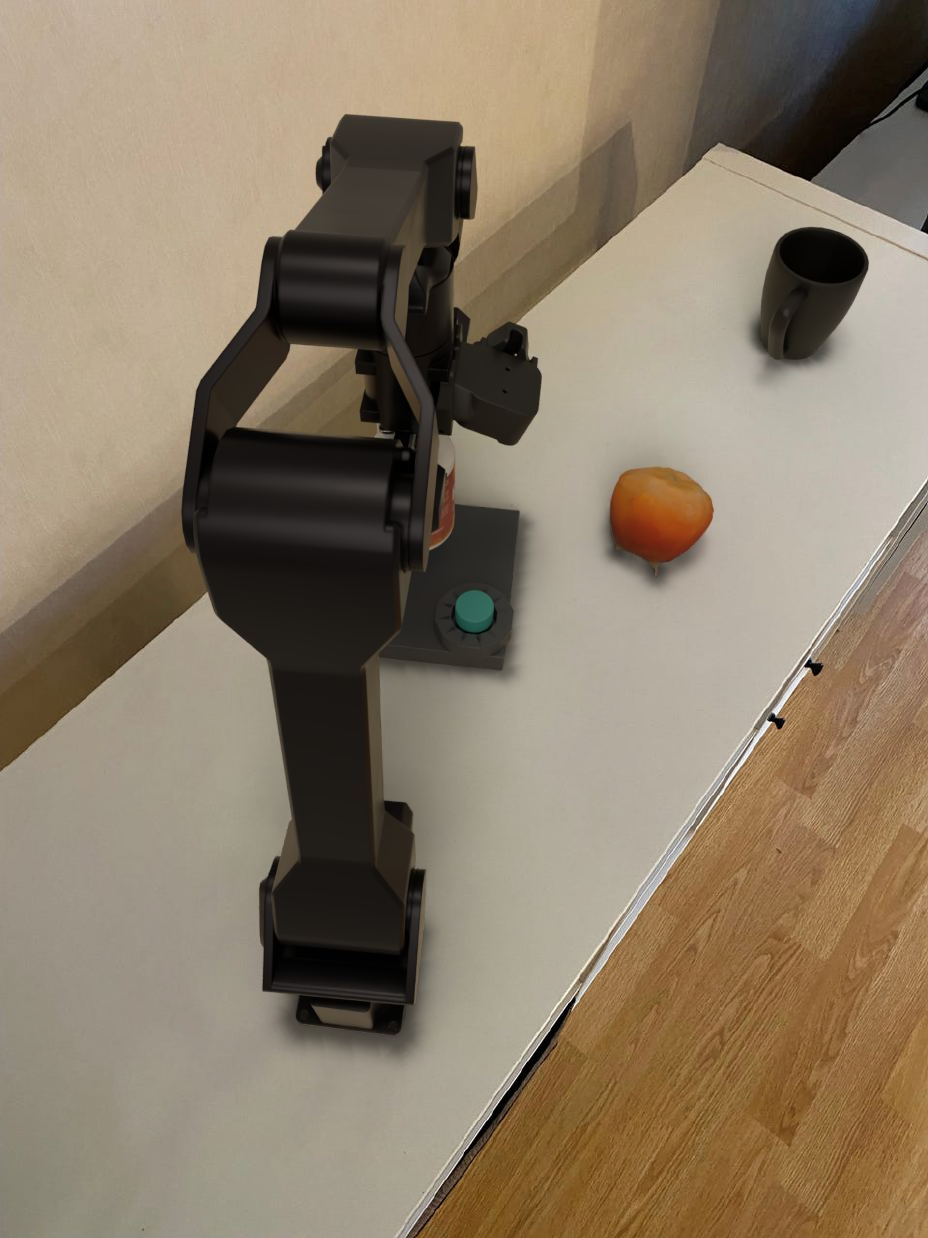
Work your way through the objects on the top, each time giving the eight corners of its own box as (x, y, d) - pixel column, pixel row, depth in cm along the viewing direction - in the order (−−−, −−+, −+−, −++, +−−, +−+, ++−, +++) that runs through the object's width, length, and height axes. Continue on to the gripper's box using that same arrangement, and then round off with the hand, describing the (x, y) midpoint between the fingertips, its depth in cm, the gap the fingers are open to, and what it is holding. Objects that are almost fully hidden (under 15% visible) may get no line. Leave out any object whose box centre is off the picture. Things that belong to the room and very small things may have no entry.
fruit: (579, 559, 76) (612, 466, 73) (605, 531, 83) (637, 445, 79) (674, 600, 74) (714, 507, 71) (694, 567, 81) (730, 481, 77)
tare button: (491, 635, 71) (491, 624, 69) (453, 631, 71) (453, 619, 69) (494, 603, 72) (495, 591, 71) (457, 599, 72) (457, 587, 71)
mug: (712, 368, 90) (738, 284, 82) (769, 299, 96) (799, 214, 88) (792, 406, 88) (827, 323, 80) (846, 333, 93) (884, 249, 85)
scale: (506, 675, 72) (509, 651, 69) (344, 657, 73) (339, 633, 70) (522, 525, 80) (525, 497, 77) (375, 509, 81) (372, 482, 78)
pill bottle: (469, 533, 74) (474, 431, 65) (401, 568, 72) (396, 468, 63) (426, 482, 77) (425, 377, 68) (359, 514, 75) (349, 410, 66)
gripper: (526, 452, 53) (510, 608, 66) (549, 241, 63) (531, 412, 76) (327, 433, 54) (350, 591, 67) (381, 226, 64) (391, 399, 77)
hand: (413, 492), depth 72 cm, fingers closed on pill bottle, 6 cm apart
